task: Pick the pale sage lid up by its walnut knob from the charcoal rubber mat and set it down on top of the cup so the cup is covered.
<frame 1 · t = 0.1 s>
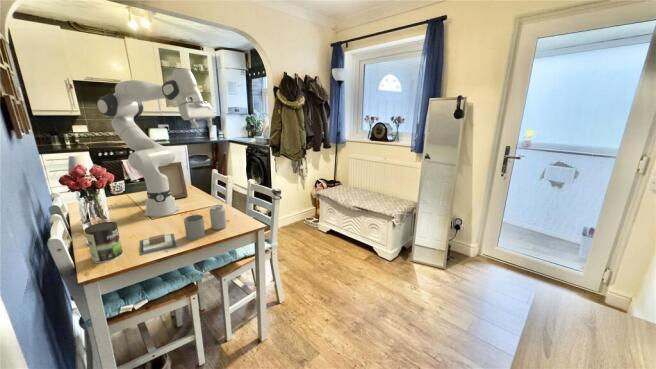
hand: (204, 127, 135), 52 cm above the table, tool tilted 20°, fingers open, 8 cm apart
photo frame: (168, 198, 185), on the table
coffee can: (108, 257, 111), on the table
can: (219, 227, 140), on the table
cup: (196, 237, 130), on the table
mat: (158, 244, 122), on the table
lid: (157, 243, 122), resting on mat
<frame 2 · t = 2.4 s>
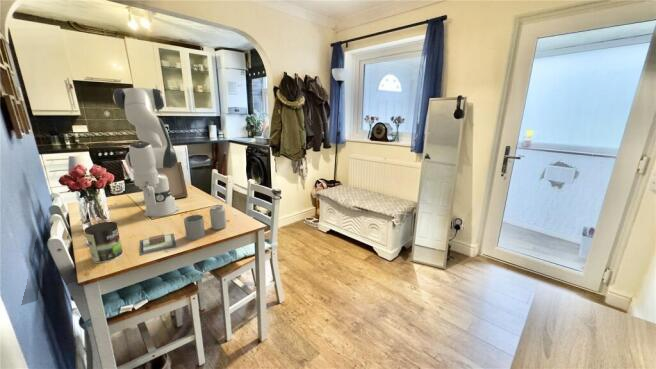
hand: (152, 209, 117), 17 cm above the table, tool pointing down, fingers open, 8 cm apart
nothing on the table moved.
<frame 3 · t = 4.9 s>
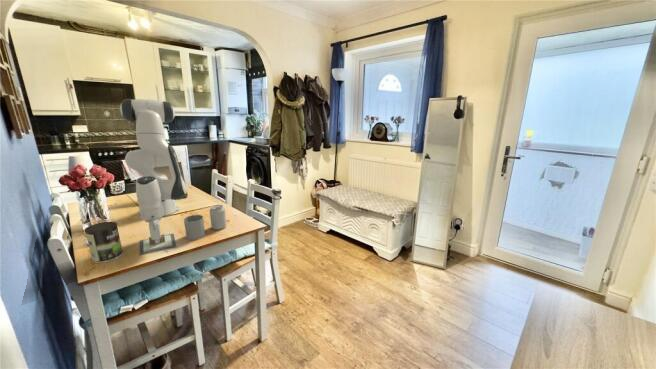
hand: (157, 240, 121), 2 cm above the table, tool pointing down, fingers closed on lid, 3 cm apart
lid: (157, 243, 122), resting on mat, touching gripper
everything else where it was.
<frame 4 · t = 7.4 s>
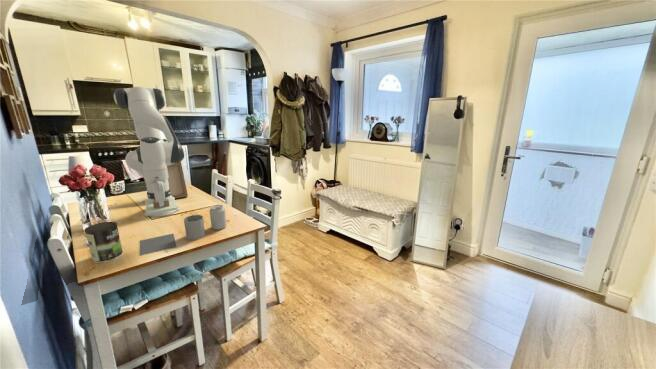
hand: (161, 204, 119), 19 cm above the table, tool pointing down, fingers closed on lid, 3 cm apart
lid: (162, 207, 119), point 18 cm above the table, touching gripper
everything else where it was.
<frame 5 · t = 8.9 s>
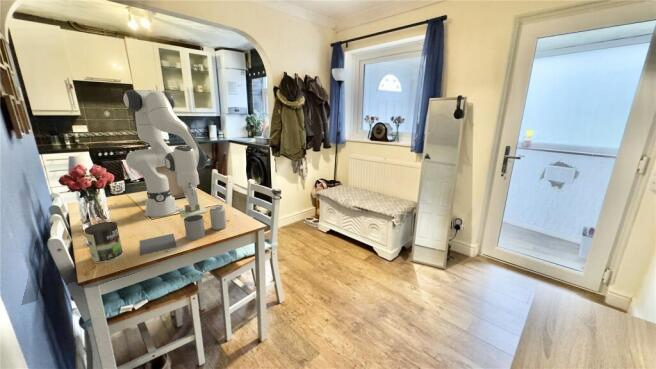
hand: (192, 208, 126), 15 cm above the table, tool pointing down, fingers closed on lid, 3 cm apart
lid: (192, 211, 126), point 13 cm above the table, touching gripper
everything else where it was.
when the fingers open (13 cm above the table, at t = 9.8 s): lid drops 2 cm, resting on cup.
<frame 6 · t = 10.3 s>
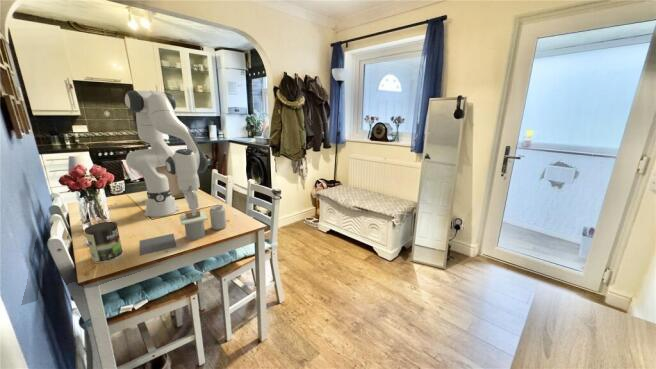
hand: (192, 211, 126), 13 cm above the table, tool pointing down, fingers open, 8 cm apart
cup: (196, 237, 130), on the table, touching lid
lid: (193, 218, 127), point 10 cm above the table, touching cup
everything else where it was.
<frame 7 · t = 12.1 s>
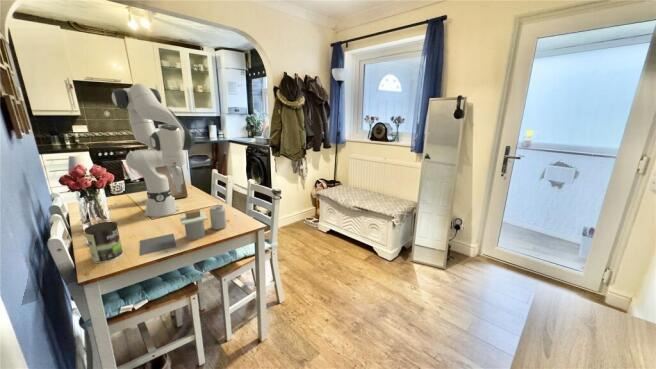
hand: (177, 188, 126), 24 cm above the table, tool pointing down, fingers open, 8 cm apart
nothing on the table moved.
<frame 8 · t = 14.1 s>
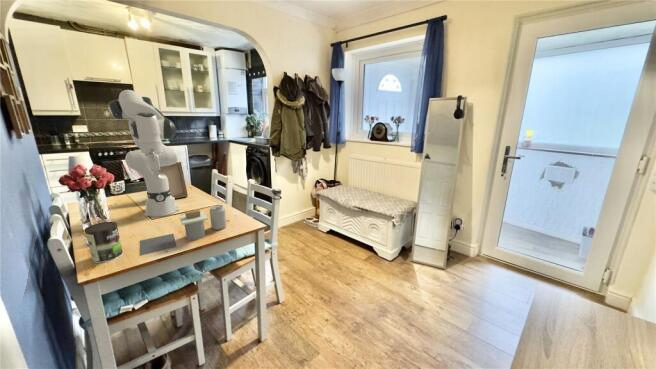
hand: (156, 176, 127), 29 cm above the table, tool pointing down, fingers open, 8 cm apart
nothing on the table moved.
at the end: lid 0.1 cm from the cup (horizontally); lid point 9.9 cm above the table; cup tilted 0° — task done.
